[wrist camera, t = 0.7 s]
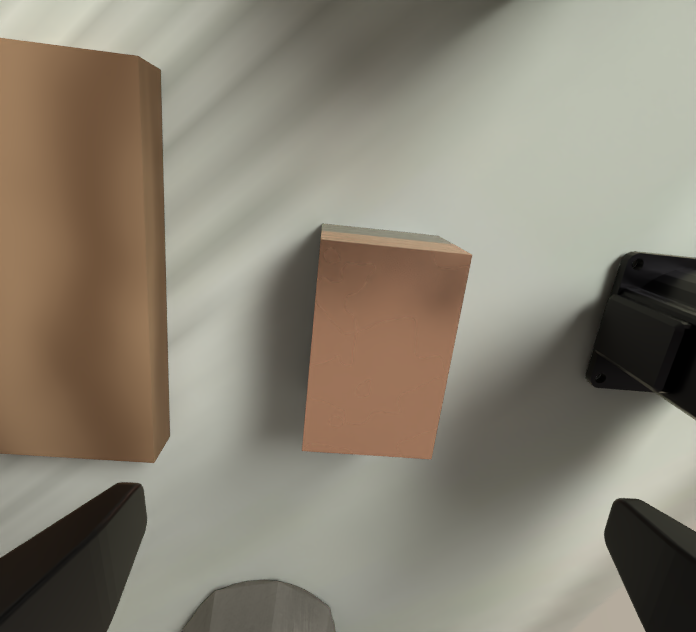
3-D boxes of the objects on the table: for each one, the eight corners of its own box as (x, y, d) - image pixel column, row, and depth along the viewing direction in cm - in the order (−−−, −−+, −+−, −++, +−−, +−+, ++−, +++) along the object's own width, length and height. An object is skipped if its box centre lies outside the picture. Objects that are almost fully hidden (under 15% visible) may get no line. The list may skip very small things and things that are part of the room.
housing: (438, 235, 18) (472, 254, 14) (403, 434, 22) (422, 500, 17) (322, 223, 18) (320, 239, 14) (304, 427, 21) (298, 494, 17)
